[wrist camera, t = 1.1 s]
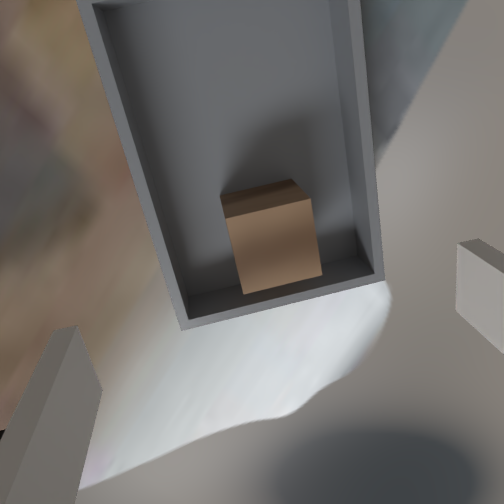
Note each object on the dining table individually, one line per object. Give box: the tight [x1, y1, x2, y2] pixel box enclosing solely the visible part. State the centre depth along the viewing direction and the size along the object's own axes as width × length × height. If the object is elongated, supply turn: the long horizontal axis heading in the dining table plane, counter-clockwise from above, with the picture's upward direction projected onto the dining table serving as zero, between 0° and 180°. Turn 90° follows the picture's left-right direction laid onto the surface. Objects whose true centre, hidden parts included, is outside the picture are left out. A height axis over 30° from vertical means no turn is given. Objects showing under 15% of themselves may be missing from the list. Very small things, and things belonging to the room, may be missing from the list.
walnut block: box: [220, 179, 322, 294], centre depth 34 cm, size 6×6×6 cm
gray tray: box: [76, 0, 385, 331], centre depth 33 cm, size 24×17×4 cm
